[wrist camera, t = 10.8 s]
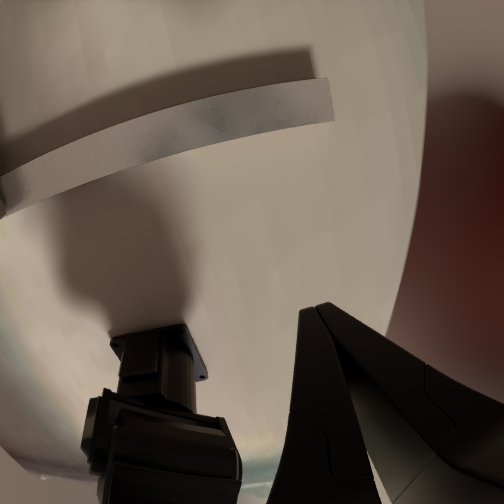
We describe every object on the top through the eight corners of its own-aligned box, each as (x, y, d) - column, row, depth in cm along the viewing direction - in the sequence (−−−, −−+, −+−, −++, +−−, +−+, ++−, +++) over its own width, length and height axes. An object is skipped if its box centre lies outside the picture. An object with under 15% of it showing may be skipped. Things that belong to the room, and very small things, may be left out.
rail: (321, 117, 17) (335, 120, 15) (-59, 246, 16) (-72, 257, 14) (315, 78, 16) (328, 77, 14) (-70, 221, 15) (-83, 232, 13)
